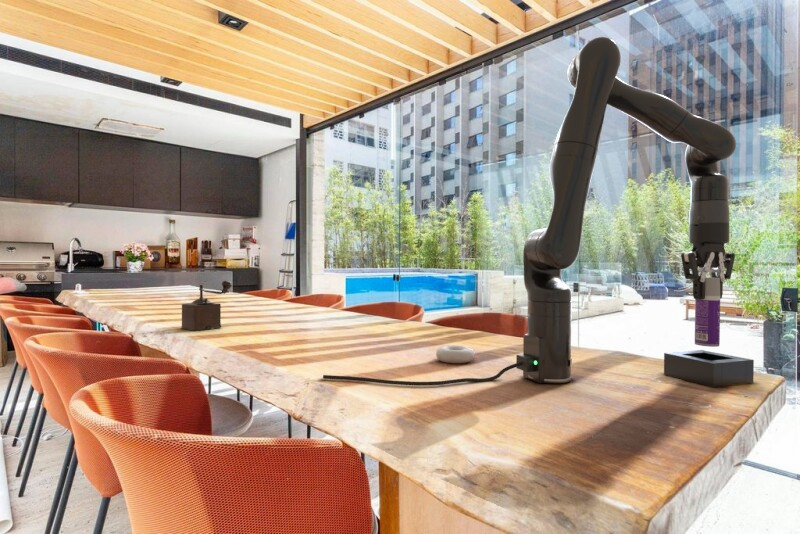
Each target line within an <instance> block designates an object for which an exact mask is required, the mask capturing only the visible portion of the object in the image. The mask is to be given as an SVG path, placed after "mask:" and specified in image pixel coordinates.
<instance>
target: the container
mask: <svg viewBox="0 0 800 534" xmlns="http://www.w3.org/2000/svg"><path fill="white" fill-rule="evenodd" d="M703 283H705V299H702V300H700V299H694V300H695V301H694V345H696V346H701V347H709V348H711V347H712V348H715V347H716V348H717V347H720V337H721V299H720V278H711V277H710V276H708V277H707V276H706V277H705V281H704V282H703Z"/></svg>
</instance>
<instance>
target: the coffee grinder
mask: <svg viewBox="0 0 800 534" xmlns="http://www.w3.org/2000/svg"><path fill="white" fill-rule="evenodd" d="M221 286H222V288H221V289H222V290H221V291H216V290H208V289H205V288H204V285H203V284H199V288H198V290H199V298H196V299H195V300H193V301H192V302H189V303H187V302H186V303H181V329H182V328H183V330H186V331H188V330H189V331H193V332H198V331H199V332H200V331H206V330H208V331H209V330H214V329H220V328H222V326H221V322H222V321H221V314H222V313H221V310H222V309H221V307H222V306H221V305H222V304H221V303H220V302H219V303H217V302H212V301H211V300H209V299H208V298H204V296H203V295H204V293H210V294H215V295H216V294H217V295H222V294H223V295H225V294H229V293H230V289H231V288H232V287H233V283H232V281H231V280H226V279H225V280H222V282H221Z"/></svg>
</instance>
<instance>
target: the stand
mask: <svg viewBox="0 0 800 534" xmlns="http://www.w3.org/2000/svg"><path fill="white" fill-rule="evenodd" d="M754 362H755V360H754V359H752V358H746V357H741V356H735V355H732V354H731V355H730V354H725V353H721V352H715V351H711V350H706V349H705V350H704V349H698V350H685V351H684V350H683V351H674V352H664V353H663V375H665V376H668V377H672V378H674V379H675V378H676V379H679V380H684V381H687V382H691V383H695V384H698V385H703V386H706V387H710V388H720V387H729V386H738V385H745V384H746V385H748V384H753V383H754V368H755V365H754V364H755V363H754Z"/></svg>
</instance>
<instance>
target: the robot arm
mask: <svg viewBox="0 0 800 534" xmlns="http://www.w3.org/2000/svg"><path fill="white" fill-rule="evenodd" d="M621 59H622V58H621V51H620V48H619V46H618V44H617V43H616V42H615V41H614V40H613V39H611V38H610V37H606V36H598V37H595V38H593V39H591V40H589V41H588V42H587V43H585V44H583V46H582V47H581V48H580V50H579V51H578V52H577V53H576V55H575V56H574V58H573V59H572V61H571V62H570V64H569V66H568V68H567V79H568V82H569V83H570V86H572V88H573V89H574V93H573V97H572V100H571V102H570V105H569V107H568V110H567V112H566V114H565V116H564V118H563V119H562V120H563V121H562V123H561V125H560V128H559V130H558V133H557V135H556V138H555V141H554V145H553V149H552V154H551V157H550V162H549V179H550V184H551V186H552V187H551V188H552V195H553V204H552V208H551V209H552V210H551V213H550V217H549V221H548V224H547V227H545V228H539V229H536V230H533V231H532V232H530V233H529V234H528V235H527V237H526V239H525V241H524V244H523V250H522V251H523V252H522V261H523V264H522V265H523V281H524V282H523V285H524V287H525V291H526V293H527V294H526V295H527V323H526V324H527V327H526V328H527V332H526V333H524V334H523V339H522V340H523V342H522V343H523V347H522V353H520V354H516V357H515V358H516V359H515V360H516V363H513V364H510V365H508V366H505V367H504V368H502V369H500V371H498V373H496V374H495V375H493V376H490V377H481V378H479V377H477V378H475V377H462V378H453V379H446V380H438V381H437V380H435V381H408V380H407V381H406V380H391V379H381V378H373V377H372V378H371V377H362V376H350V375H349V376H348V375H331V374H330V375H329V374H323V375H322V379H325V380H339V381H340V380H342V381H355V382H356V381H357V382H367V383H374V384H375V383H377V384H384V385H386V384H387V385H397V386H398V385H399V386H416V387H417V386H418V387H420V386H422V387H423V386H424V387H426V386H443V385H451V384H459V383H482V382H483V383H484V382H492V381H495V380H497V379H499V378H500V377H501V376H502V375H503V374H504V373H505V372H507V371H510V370H512V369H515V368H516V369H518V370H520V371H522V377H523V378H525V379H528V380H530V381H533V382H536V383H538V384H565V383H569V382H571V381H572V374H571V373H572V365H573V358H572V289H571V288H570V287H569V286H568V285H567V284H566V283H565V282H564V280H563V278H562V271H563V270H567V269H569V268H570V267H572V266H573V265H574V263H575V262H576V260H577V259H578V257H579V253H580V249H581V243H582V235H583V225H584V216H585V210H586V205H587V201H588V195H589V191H590V185H591V180H592V177H593V174H594V170H595V165H596V161H597V156H598V152H599V146H600V141H601V136H602V131H603V127H604V122H605V117H606V110H607V107H608V106H609V107H611V108H614V109H616V110H617V111H620V112H622V113H623V114H624V115H625V114H626V115H627V116H629V117H630V118H632V119H634V120H636V121H638V122H640V123H641V124H642V125H644V126H645V127H647V128H648V129H649V130H651V131H653V132H654V133H655V134H657V135H659V136H660V137H662V138H663V139H664V140H666V141H668V142H670V143H672V144H678V143H680V144H684V145H687V146H686V149H685V153H684V161H685V167H686V171H687V175H688V178H689V182H690V206H689V212H688V243H689V244H691V245H692V248H691V250H690V251H688V252H682V253H681V254H680V257H681V264H682V269H683V274H684V278H685V280H690V281H691V282H692V297H693V299H694V300H695V299H700V300H702V299H705V283H703V282H704V281H705V277H707V274H709V277H711V278H720V300H721V299H723V293H724V290H723V289H724V282H725V281H726V280H730V279H731V277H732V272H733V269H734V268H733V267H734V263H735V258H736V253H734V252H727V251H726V249H725V244H728V243H729V242H730V205H729V179H728V177H727V175H725V174H722V173H720V172H719V167H718V163H719V162H722V161H724V160H728V159H729V158H730V157H731V156H732V155H733V154H734V153H735V151H736V149H737V140H736V137H735V136H734V134H733V133H732V132H731V131H730V130H729V129H727V128H726V127H725V126H723V125H721V124H718V123H716V122H715V121H712V120H709V119H706V118H704V117H701V116H699V115H695V114H693V113H691V112H690V111H689V110H688V109H686V108H685V107H683V106H682V105H681V104H679V103H677V102H676V101H674V100H673V99H671V98H670V97H667V96H665V95H663V94H661V93H657V92H653V91H649V90H646V89H641V88H639V87H635V86H633V85H631V84H628V83H627V82H625V81H623V80H621V79H620V78H618V77H617V75H618V72H619V70H620V67H621Z"/></svg>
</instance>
